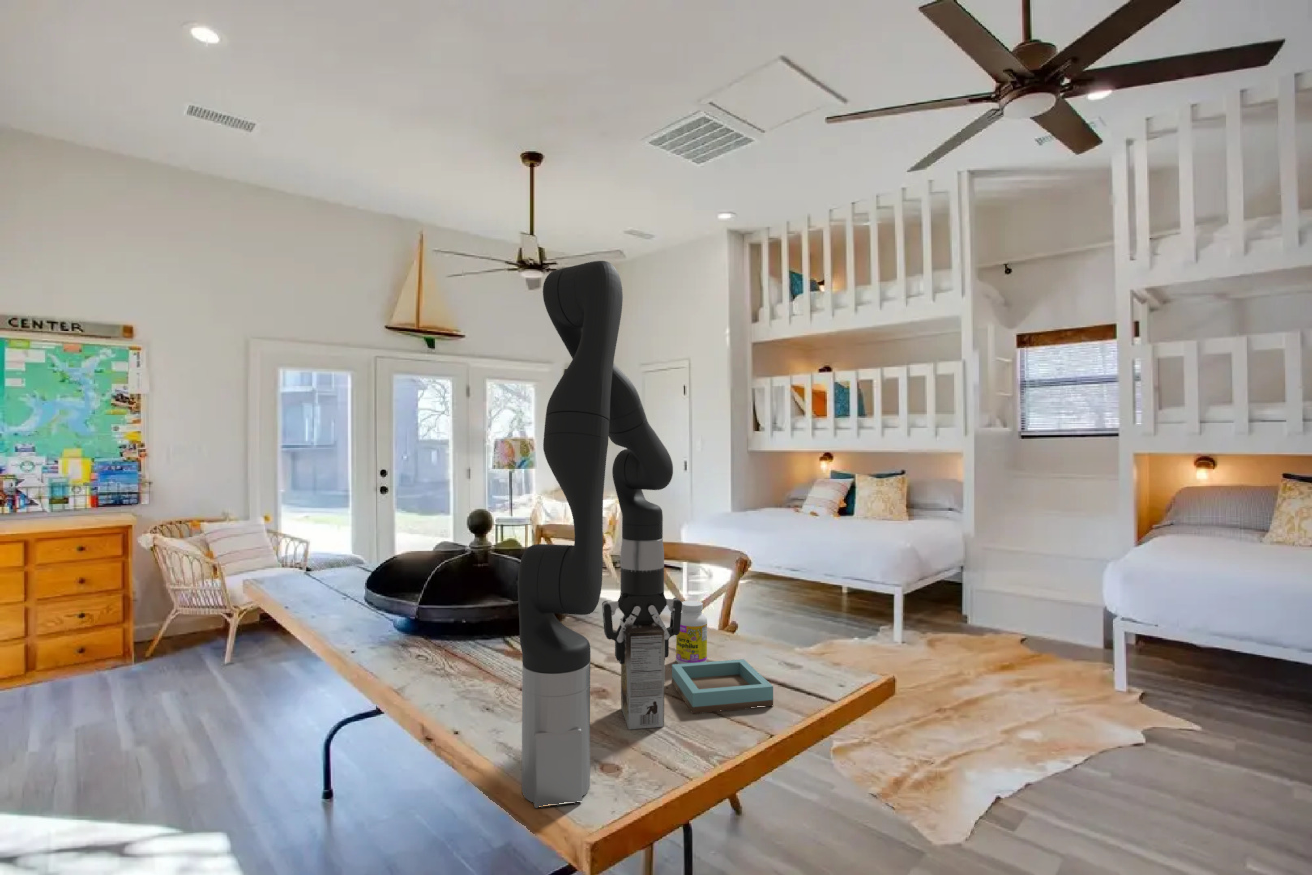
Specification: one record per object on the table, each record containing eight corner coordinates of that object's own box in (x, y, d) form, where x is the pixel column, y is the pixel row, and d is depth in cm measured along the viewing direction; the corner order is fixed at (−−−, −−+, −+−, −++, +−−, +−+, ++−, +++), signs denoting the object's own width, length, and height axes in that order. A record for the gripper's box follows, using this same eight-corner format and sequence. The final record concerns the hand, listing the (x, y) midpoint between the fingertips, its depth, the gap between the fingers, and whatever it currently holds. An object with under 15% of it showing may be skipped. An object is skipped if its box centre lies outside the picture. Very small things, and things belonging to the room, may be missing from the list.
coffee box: (619, 708, 116) (619, 617, 116) (655, 705, 117) (655, 615, 117) (627, 730, 107) (627, 632, 107) (665, 727, 108) (665, 630, 108)
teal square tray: (773, 706, 117) (773, 686, 117) (692, 713, 114) (692, 693, 114) (743, 676, 131) (743, 659, 131) (671, 682, 128) (671, 664, 128)
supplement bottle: (670, 664, 139) (670, 604, 139) (684, 655, 144) (684, 597, 144) (699, 670, 135) (699, 608, 136) (711, 660, 141) (712, 601, 141)
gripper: (604, 570, 107) (603, 671, 107) (688, 566, 110) (688, 665, 110) (597, 562, 114) (597, 657, 114) (677, 559, 117) (676, 651, 117)
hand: (642, 660), depth 112 cm, fingers closed on coffee box, 6 cm apart
